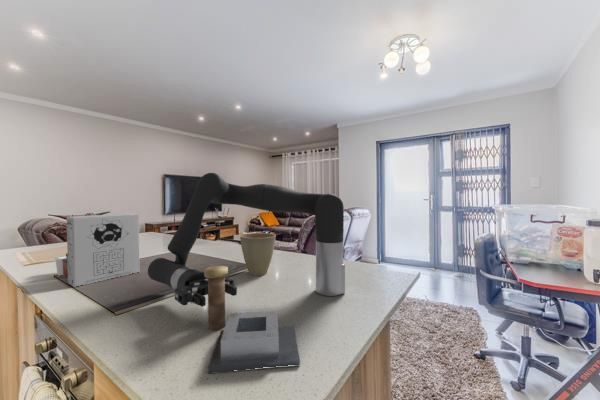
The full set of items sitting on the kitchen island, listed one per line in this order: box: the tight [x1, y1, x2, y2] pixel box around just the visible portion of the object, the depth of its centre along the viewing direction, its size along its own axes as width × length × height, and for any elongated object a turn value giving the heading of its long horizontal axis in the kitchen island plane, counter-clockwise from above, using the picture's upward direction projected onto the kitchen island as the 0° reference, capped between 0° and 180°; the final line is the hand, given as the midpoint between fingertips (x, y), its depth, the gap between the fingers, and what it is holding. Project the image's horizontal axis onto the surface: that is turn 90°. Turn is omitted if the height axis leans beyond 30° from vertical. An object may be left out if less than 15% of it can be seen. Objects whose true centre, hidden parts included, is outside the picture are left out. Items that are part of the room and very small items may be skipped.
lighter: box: [62, 252, 68, 279], centre depth 106 cm, size 8×3×10 cm, turn 168°
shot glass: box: [55, 255, 67, 276], centre depth 108 cm, size 7×7×7 cm
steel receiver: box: [207, 310, 301, 374], centre depth 55 cm, size 17×13×5 cm
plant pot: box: [239, 232, 277, 276], centre depth 109 cm, size 15×15×16 cm
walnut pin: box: [203, 265, 229, 332], centre depth 64 cm, size 6×6×14 cm
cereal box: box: [66, 212, 141, 288], centre depth 103 cm, size 22×8×25 cm, turn 145°
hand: (220, 296), depth 63 cm, fingers open, 8 cm apart
